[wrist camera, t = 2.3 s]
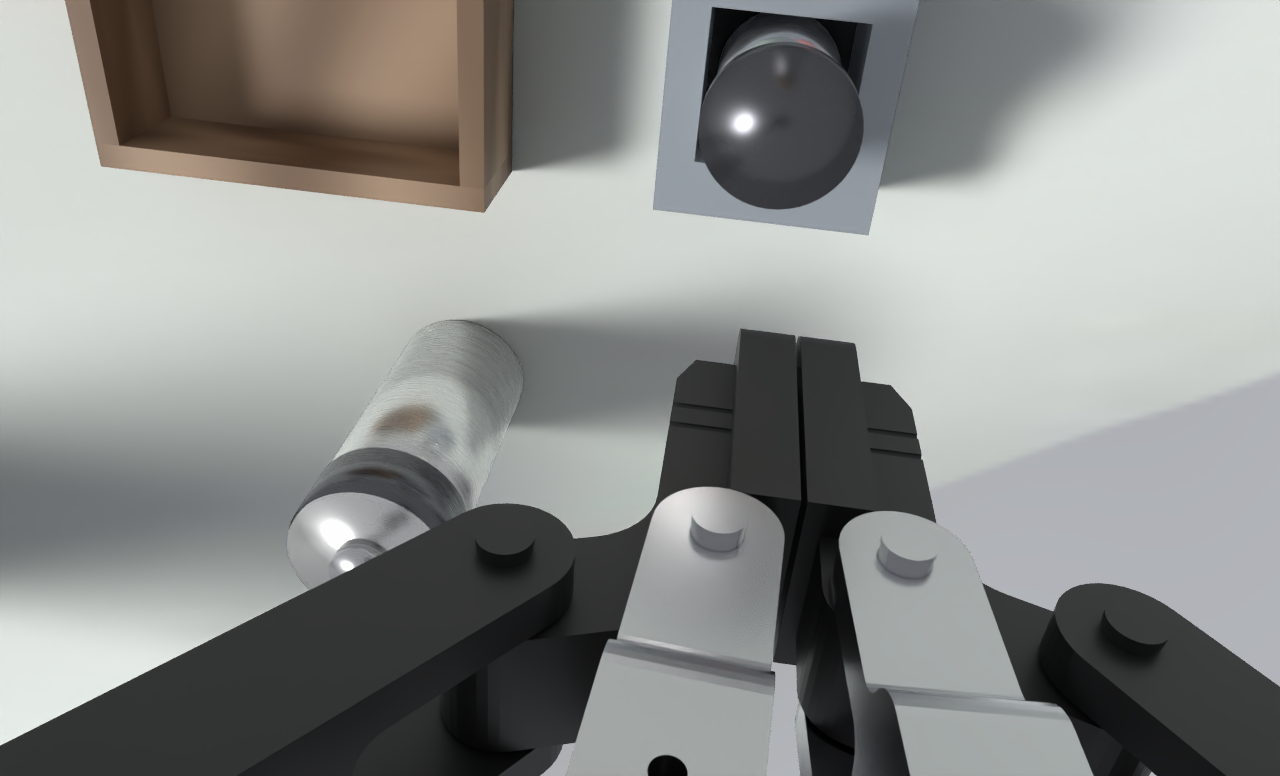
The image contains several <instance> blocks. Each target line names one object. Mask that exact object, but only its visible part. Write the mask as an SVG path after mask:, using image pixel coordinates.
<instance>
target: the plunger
mask: <svg viewBox="0 0 1280 776" xmlns="http://www.w3.org/2000/svg"><path fill="white" fill-rule="evenodd" d="M863 132H864V119H863V111H862V107H861V103H860V100H859V96H858V92H857V90H856V88H855V86H854V83H853V81H852V80H851V78H850V77H849V75H848V73H847V72H846V71H845V70H844V69H843V67H842V63H841V59H840V55H839V51H838V48H837V46H836V43H835V41H834V39H833V38H832V36H831V34H830V33H829V32H828V31H827V29H826V28H825V27H824V26H823V25H822V24H820V23H819V22H818V21H817V20H815V19H814V18H811V17H802V16H793V15H783V14H774V13H765V12H764V13H761V14H758V15H756V16H754V17H752V18H750V19H749V20H747V21H746V22H744V23H743V24H742V25H741V26H740V27H738V28H737V29H736V30H735V32H734V33H733V34H732V35H731V36H730V38H729V40H728V41H727V43H726V44H725V47H724V49H723V51H722V54H721V57H720V61H719V66H718V71H717V76H716V77H715V79H714V80H713V82H712V83H711V85H710V87H709V89H708V91H707V93H706V96H705V99H704V102H703V105H702V109H701V114H700V120H699V132H698V134H699V144H700V149H701V153H702V156H703V159H704V162H705V164H706V166H707V168H708V170H709V172H710V173H711V175H712V176H713V178H714V179H715V180H716V182H717V183H718V184H719V185H720V186H721V187H722V188H723V189H724V190H726V191H727V192H728V193H729V194H730V195H732V196H734V197H735V198H737V199H738V200H740V201H742V202H745V203H747V204H749V205H752V206H756V207H759V208H765V209H775V210H781V209H791V208H797V207H801V206H804V205H807V204H810V203H812V202H814V201H816V200H818V199H820V198H822V197H823V196H825V195H827V194H828V193H829V192H831V191H832V190H833V189H834V188H836V187H837V186H838V185H839V184H840V183H841V182H842V181H843V179H844V178H845V177H846V176H847V174H848V173H849V172H850V170H851V168H852V167H853V165H854V163H855V161H856V159H857V156H858V154H859V152H860V148H861V144H862V140H863Z"/></svg>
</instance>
